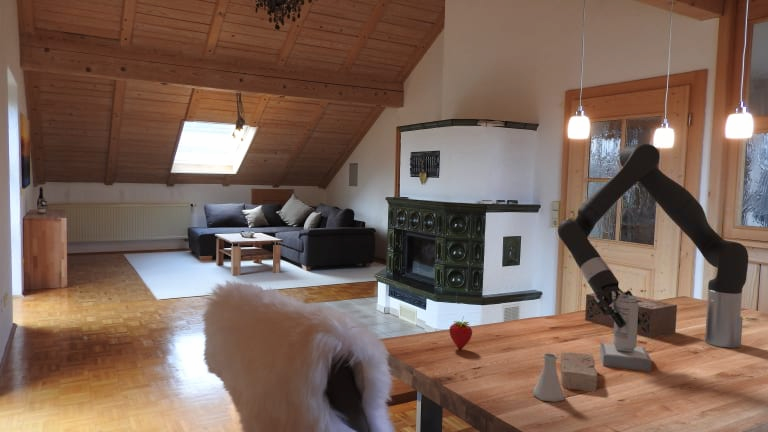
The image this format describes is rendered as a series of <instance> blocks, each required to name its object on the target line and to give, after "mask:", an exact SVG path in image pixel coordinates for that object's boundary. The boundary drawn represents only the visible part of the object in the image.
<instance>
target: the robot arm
mask: <svg viewBox="0 0 768 432" xmlns="http://www.w3.org/2000/svg"><path fill="white" fill-rule="evenodd" d="M660 158H661V157H660V153H659V150H658V149H657V147H655V146H654V145H652V144H650V143H638V144H636V143H635V144H632V145H631V144H630V145H628V146H626V147H624V148H623V149H622V150H621V152H620V153H619V163H620V165H621V168H620V169H619V171H618V172H617V173H616V174H615V175H614V176H613V177H611V178H610V179H609V180H608V181H607V182H605V183H604V184H603V185H601V186H600V187H598V188H597V189H596V190H595V191H594V192H593V193H592V194H590V196H589V197H588V198H587V199H586V200H585V201H584V202H583V203H582V204H581V205H580V207H579V208H578V209H577V217H576V218H575V219H574V220H573V219H570V218H569V219H564V220H562V221H561V222H560V223H559V224H558V227H557V235H558V237H559V238H560V239H561V241H562V243H563V244H564V245H565V247H566V248H567V249H568V251H569V252H570V254H571V256H572V258H573V259H574V261H575V263H576V265H577V266H578V268H579V269H580V271H581V273H582V275H583V277H584V279H585V280H586V282H587V284H588V285H589V287H590V288H591V290H592V291H593V293H595V294H596V296H595V297H594V298H593V301H594V302H595V304H596V305H597V306H598V308H599V309H600V310H601V311H602V313H603V314H604V315H605V316H606V315H609V316H610V317H612V318H613V320H614V321H615V323H616V324H617V325H618V327H619V328H622V327H623V326H625V325H626V323H625V321H624V320H623V318H622V317H621V315H620V314H619V313H617V312H618V310H617V308H616V300H617V298H618V295H630V296H634V295H633V293H632V292H631V291H630V290H628V289H627V290H626V291H623V290H622V289H621V288H620V287H619V284H620V283H619V282H620V281H619V279H617V277H616V276H615V274H614V273H613V271H612V269H610V266H609V265H608V263H607V262H605V260H604V259H603V258H602V256H601V255H600V253H599V251H597V249H596V247H594V246H593V244H592V243H591V242H590V239H589V238H588V237H589V236H590V234H591V233H592V232H593V230H594V228H595V227H596V225H597V224H598V222H599V221H600V220H601V219H602V218H603V217H604V216H605V215H606V213H608V211H609V210H610V209H612V207H613V206H614V205H615V204H616V203H617V202H618V201H619V200H620V198H621V197H623V196H624V195H625V194H626V193H627V192H628V191H629V190H630V189H631V188H633V187H634V186H635V184H637V183H639V185H641V186H642V187H643V188H644V189H645V190H646V192H647V193H648V194H649V195H650V196H651V198H652V199H653V200H654V201H655V202H656V203H657V204H658V206H660V207H661V209H662V210H663V212H664V213H666V215H667V216H668V217H669V218H670V219H671V220H672V221H673V222H674V224H676V226H677V227H679V229H680V230H681V231H682V232H683V233H684V234H685V235H686V236H687V237H688V238H689V240H691V241H692V242H693V244H694V245H695V246H696V248H697V249H698V251H699V252H700V253H701V255H702V256H703V258H704V259H705V261H706V262H707V263H708V264H709V265H710V266H712V267H714V268H717V271H716V276H715V278H713V279H710V280H709V281H708V284H707V300H706V301H707V302H706V315H705V316H706V318H705V332H704V337H705V338H704V342H705V343H706V344H708V345H712V346H716V347H721V348H729V349H730V348H731V349H732V348H742V337H743V333H742V332H743V317H742V316H741V314H742V302H743V301H742V300H743V299H742V298H743V288H744V286H745V284H746V282H747V275H748V270H749V269H748V266H749V253H748V250H747V248H746V246H745V245H744V244H742V243H739V242H738V241H731V240H727V239H724V238H723V237H722V236H721V235H719V234H718V233H717V232H716V231H715V230H714V229H713V228H712V226H710V223H709V222H708V220H707V216H706V212H705V211H704V208H703V206H702V205H701V204H700V202H699V201H698V200H697V199H696V198H695V196H693V195H692V193H691V192H690V191H689V190H687V189H686V188H685V187H684V186H682V185H681V184H679V183H678V182H677V181H675V180H673V179H672V178H670V177H668V176H667V175H666V174H665V173H663V171H661V170H660V169H659V167H658V164H659V163H660ZM603 306H605V307H606V310H605V309H604V308H603ZM638 307H639V306H638ZM641 322H642V320H641V318H640V317H639V315H638V323H637V325H639V324H640V323H641Z"/></svg>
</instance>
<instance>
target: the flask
mask: <svg viewBox="0 0 768 432" xmlns="http://www.w3.org/2000/svg"><path fill="white" fill-rule="evenodd" d="M542 355H543V358H544V361H543V362H544V363H543V366H542V370H541V372H540V375H539V377H538V379H537V382H536V384H535V386H534V388H533V396H534V397H536V398H537V399H539V400H541V401H545V402H555V403H556V402H561V401H565V396H564V392H563V390H562V385H561V381H560V379H559V376H558V372H557V365H556V364H557V363H556V362H557V359H558V355H557V354H555V353H550V352H549V353H548V352H546V353H543V354H542Z"/></svg>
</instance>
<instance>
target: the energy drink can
mask: <svg viewBox="0 0 768 432" xmlns="http://www.w3.org/2000/svg"><path fill="white" fill-rule="evenodd" d="M635 296H636V295H633V296H630V295H618V298H617V300H616V308H617V310H618V312H617V313H619V314H620V315H621V317H622V318H623V320H624V321H625V323H626V325H625V326H623V327H622V328H619V327H618V325H617V324H616V323H615V321H614V328H613V339H612V340H613V341H612V344H613V345H614V346H615V348H616V349H618V350H621V351H634V348H636V347H637V338H638V335H637V323H638V305H639V304H638V302H637V300H636V297H635Z"/></svg>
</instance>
